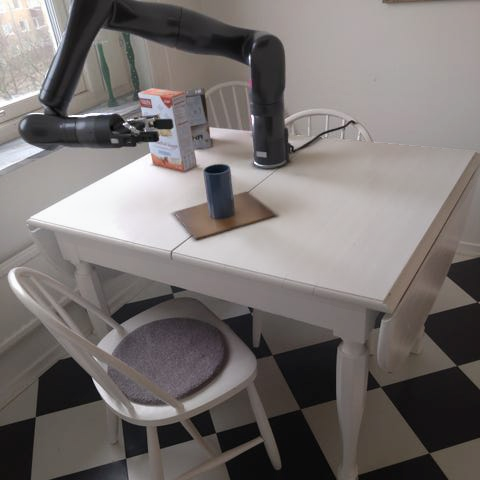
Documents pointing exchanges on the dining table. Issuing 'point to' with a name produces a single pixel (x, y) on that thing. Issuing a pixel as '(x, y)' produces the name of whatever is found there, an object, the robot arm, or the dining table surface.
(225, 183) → the pen holder
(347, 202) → the dining table surface
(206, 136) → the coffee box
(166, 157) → the cracker box
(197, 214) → the desk mat
